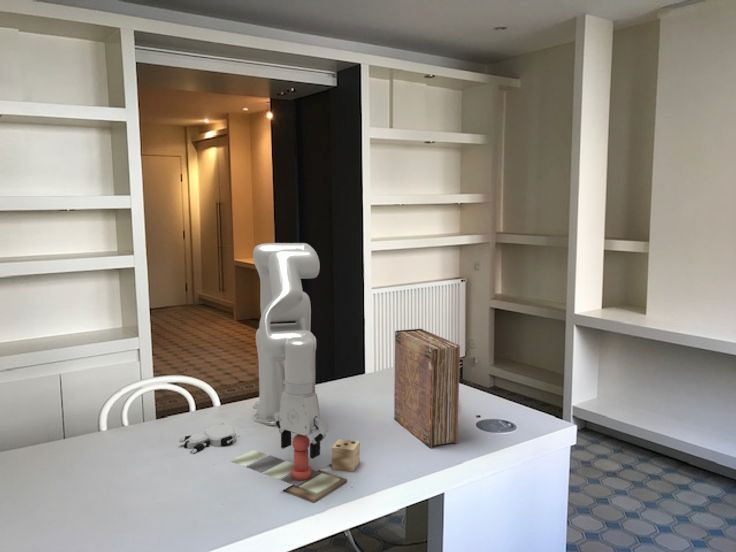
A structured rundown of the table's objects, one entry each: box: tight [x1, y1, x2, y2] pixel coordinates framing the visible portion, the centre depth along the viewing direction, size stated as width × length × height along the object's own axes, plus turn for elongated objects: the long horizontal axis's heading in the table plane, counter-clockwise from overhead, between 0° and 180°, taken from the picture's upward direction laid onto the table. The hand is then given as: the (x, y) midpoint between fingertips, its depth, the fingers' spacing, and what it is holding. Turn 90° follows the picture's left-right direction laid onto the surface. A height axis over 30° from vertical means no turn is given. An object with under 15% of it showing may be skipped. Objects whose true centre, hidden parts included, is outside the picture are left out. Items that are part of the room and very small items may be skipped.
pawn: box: [290, 434, 312, 481], centre depth 150 cm, size 5×5×11 cm
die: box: [331, 438, 361, 473], centre depth 160 cm, size 6×6×6 cm
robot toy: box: [178, 422, 241, 454], centre depth 172 cm, size 12×4×15 cm
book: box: [393, 328, 461, 449], centre depth 183 cm, size 25×9×30 cm, turn 22°
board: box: [229, 449, 348, 504], centre depth 154 cm, size 32×13×1 cm, turn 55°
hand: (300, 451), depth 150 cm, fingers open, 9 cm apart
